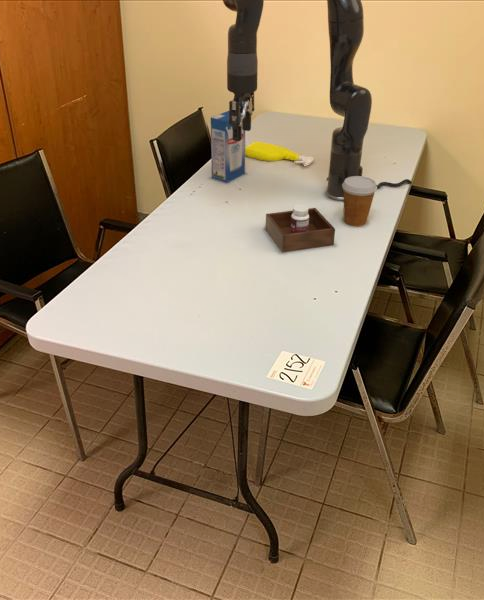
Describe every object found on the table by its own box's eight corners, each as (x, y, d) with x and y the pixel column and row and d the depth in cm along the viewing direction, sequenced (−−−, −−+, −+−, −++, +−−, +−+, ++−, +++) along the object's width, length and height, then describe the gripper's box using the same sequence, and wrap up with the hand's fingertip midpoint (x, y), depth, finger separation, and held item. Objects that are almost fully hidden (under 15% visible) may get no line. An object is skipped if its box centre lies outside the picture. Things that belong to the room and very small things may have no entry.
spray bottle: (256, 147, 221) (317, 160, 212) (241, 156, 213) (304, 171, 204) (256, 140, 220) (318, 152, 210) (241, 148, 212) (305, 162, 202)
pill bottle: (288, 232, 165) (290, 204, 160) (305, 231, 165) (308, 203, 160) (291, 240, 161) (293, 212, 156) (309, 239, 161) (311, 211, 156)
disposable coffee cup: (351, 211, 177) (356, 172, 170) (378, 221, 171) (384, 182, 164) (331, 221, 171) (335, 181, 165) (358, 232, 166) (364, 191, 159)
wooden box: (314, 223, 170) (315, 207, 168) (333, 245, 159) (335, 228, 157) (265, 229, 167) (265, 213, 164) (282, 252, 156) (282, 236, 153)
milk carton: (226, 182, 194) (226, 121, 183) (211, 178, 197) (210, 117, 186) (244, 173, 201) (245, 113, 189) (230, 169, 204) (230, 110, 193)
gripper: (248, 78, 141) (248, 145, 150) (264, 65, 152) (263, 128, 161) (218, 76, 143) (219, 142, 152) (236, 63, 154) (236, 125, 163)
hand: (242, 135), depth 156 cm, fingers open, 8 cm apart
